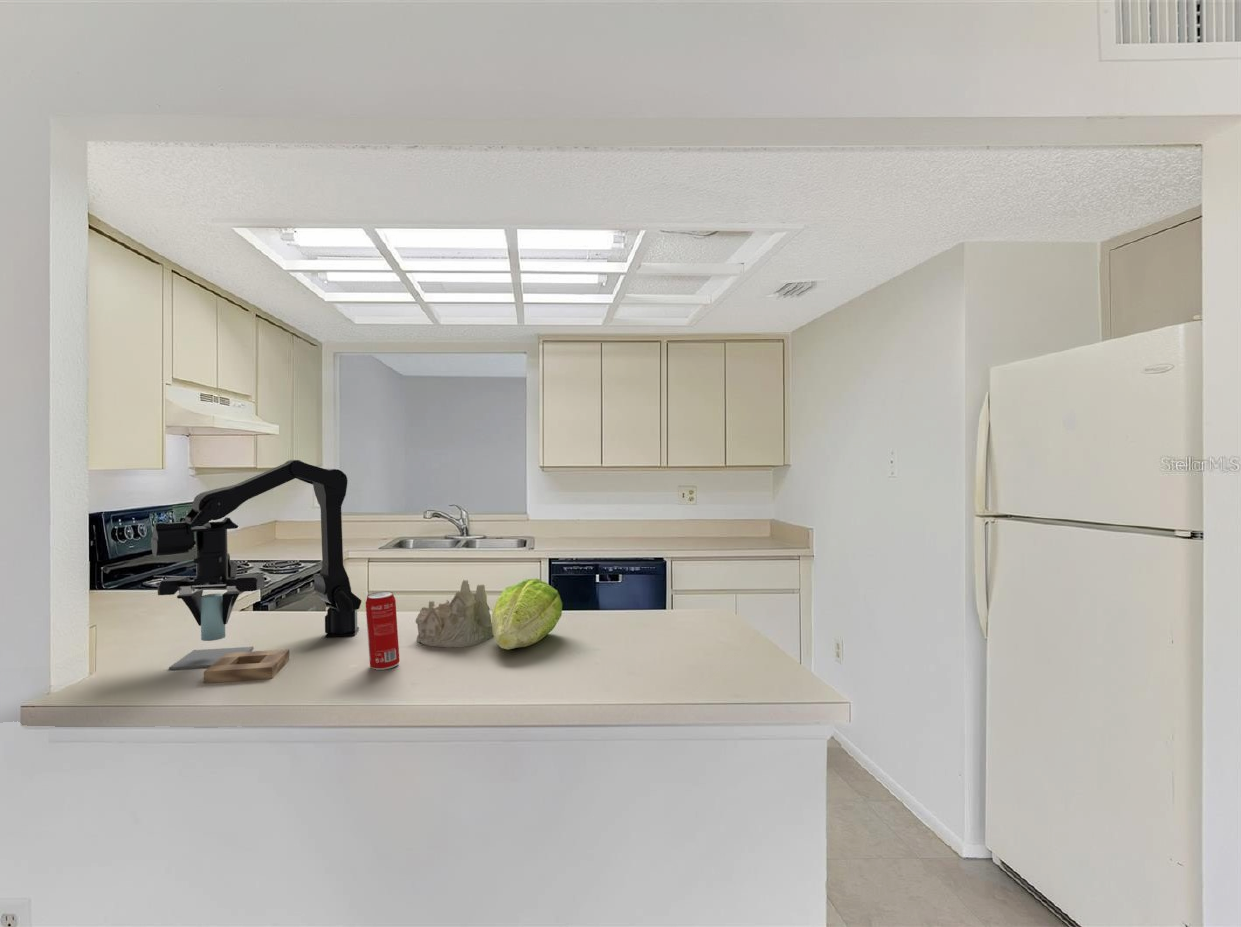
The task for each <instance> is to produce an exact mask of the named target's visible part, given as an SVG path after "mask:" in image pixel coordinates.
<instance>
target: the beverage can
mask: <svg viewBox="0 0 1241 927" xmlns="http://www.w3.org/2000/svg"><path fill="white" fill-rule="evenodd" d="M396 604H397V600H396V598H395V595H394V592H393V591H387V590H386V591H385V590H383V591H377V592H372V593H370V594H368V595H367V596H366V600H365V613H366V614H365V615H366V630H367V640H368V641H367V642H368V643H367V644H368V657H369V658H368V659H369V666H370V668H371V669H372V670H375V669H376V670H375V671H384V670H388V669H392V668H395V667H397V666H398V665H399V663H400V650H399V649H400V647H399V635H398V633H399V632H398V617H397V607H396V606H397V605H396Z"/></svg>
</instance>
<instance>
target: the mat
mask: <svg viewBox="0 0 1241 927" xmlns="http://www.w3.org/2000/svg"><path fill="white" fill-rule="evenodd" d="M253 650H254V646H244V647H242V646H241V647H240V646H239V647H226V648H207V649H193V650H192V651H190V652H189V653H187V654H186V655H184V656H183V657H182V658H180V659H179V660H177V661H176V662H175V663H173V664H171V665H169V667H168V670H169V671H171V670H173V671H174V670H184V669H185V670H188V669H191V670H192V669H204V668H206V669H207V668H209V667H210V666H211V665H212V664H214V663H215V662H216V661H217V660H219V659H220V658H221V657H222V656H224V655H225V654H226V653H234V652H251V651H253Z"/></svg>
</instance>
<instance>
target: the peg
mask: <svg viewBox="0 0 1241 927" xmlns="http://www.w3.org/2000/svg"><path fill="white" fill-rule="evenodd" d="M223 594H224V593H219V592H218V593H210V594H204V595H203V594H202V596H201V597H200V603H201V626H200V633H201V634H200V640H201V641H203V642H212V641H218V640H222V639H225V638H226V624H224V623H223Z"/></svg>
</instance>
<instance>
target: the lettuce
mask: <svg viewBox="0 0 1241 927" xmlns="http://www.w3.org/2000/svg"><path fill="white" fill-rule="evenodd" d="M562 611H563V601H562V599H561V595H560V593H559V591H558V590H557V589H556V588H554V587H553V586H552V585H550V584H549V583H547V582H546V581H543V580H541V579H539V578H529V579H524V580H522V581H520V582H518V583H517V584H514V585H511V586H508V587H506V588H504V589H503V590H502V591H501V594H500V595H499V597H498V599H497V600H496V603H495V604H494V606H493V609H492V612H491V614H490V615H491V622H492V631H493V635H494V636H493V638H494V639H495V641H496V643H497V644H498V646H499V647H500V648H501V649H505V650H508V651H509V650H512V649H513V650H514V649H516V648H526V647H529V646H532V645H534V644H536V643H538V642H539V641H541V640H542V639H544V638H545V637H546V636H547V635H548V634H550V632H551V631H553V629H555V627H556V626H557V624H558V622H559V620H560V619H561V617H562V614H563V612H562Z"/></svg>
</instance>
